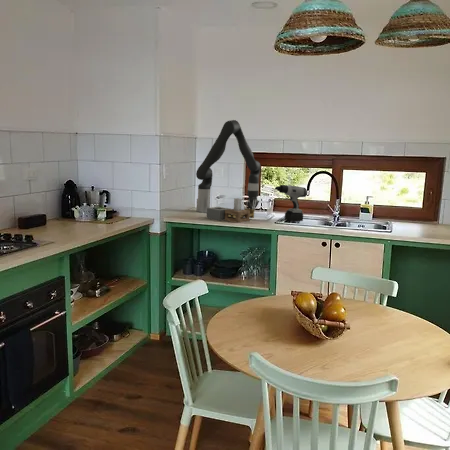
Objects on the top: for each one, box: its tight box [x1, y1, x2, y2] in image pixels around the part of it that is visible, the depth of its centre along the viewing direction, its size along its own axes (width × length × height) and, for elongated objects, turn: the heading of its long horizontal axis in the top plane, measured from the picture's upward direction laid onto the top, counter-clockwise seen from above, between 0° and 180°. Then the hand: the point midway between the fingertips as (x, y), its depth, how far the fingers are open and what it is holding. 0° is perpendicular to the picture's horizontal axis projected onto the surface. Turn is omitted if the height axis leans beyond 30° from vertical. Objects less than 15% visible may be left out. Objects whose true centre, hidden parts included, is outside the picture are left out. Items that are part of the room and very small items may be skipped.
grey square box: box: [206, 206, 230, 221], centre depth 332 cm, size 12×12×7 cm
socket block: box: [224, 208, 250, 223], centre depth 327 cm, size 12×12×7 cm
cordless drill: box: [274, 184, 308, 222], centre depth 336 cm, size 8×24×25 cm, turn 115°
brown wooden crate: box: [228, 207, 255, 219], centre depth 330 cm, size 19×8×6 cm, turn 139°
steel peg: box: [233, 197, 243, 218], centre depth 326 cm, size 4×4×15 cm
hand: (251, 214), depth 339 cm, fingers closed
